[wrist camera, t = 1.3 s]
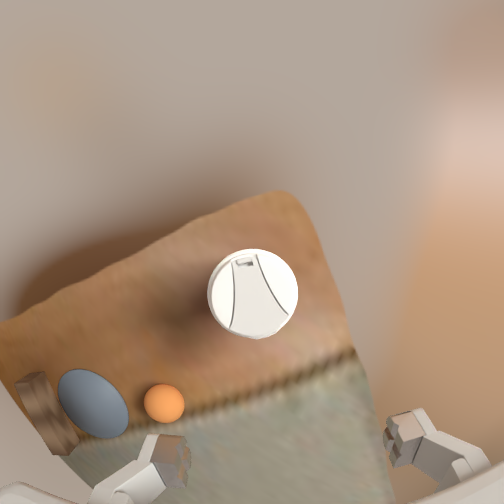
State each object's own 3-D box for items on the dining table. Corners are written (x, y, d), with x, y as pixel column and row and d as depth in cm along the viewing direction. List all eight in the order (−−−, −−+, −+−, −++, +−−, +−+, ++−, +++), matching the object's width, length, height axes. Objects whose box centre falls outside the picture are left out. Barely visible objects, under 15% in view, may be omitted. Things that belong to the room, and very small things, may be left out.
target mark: (142, 435, 39) (141, 435, 39) (80, 438, 39) (80, 439, 39) (107, 363, 39) (106, 364, 39) (46, 373, 39) (46, 374, 38)
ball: (192, 406, 39) (186, 427, 34) (158, 412, 39) (149, 432, 34) (178, 374, 39) (170, 392, 34) (144, 381, 39) (132, 399, 34)
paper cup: (212, 252, 38) (195, 261, 24) (273, 238, 39) (289, 239, 25) (227, 312, 39) (219, 352, 25) (286, 299, 39) (308, 331, 25)
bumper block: (80, 440, 39) (68, 455, 34) (64, 440, 39) (52, 454, 34) (44, 371, 39) (28, 382, 34) (29, 373, 39) (13, 384, 34)
